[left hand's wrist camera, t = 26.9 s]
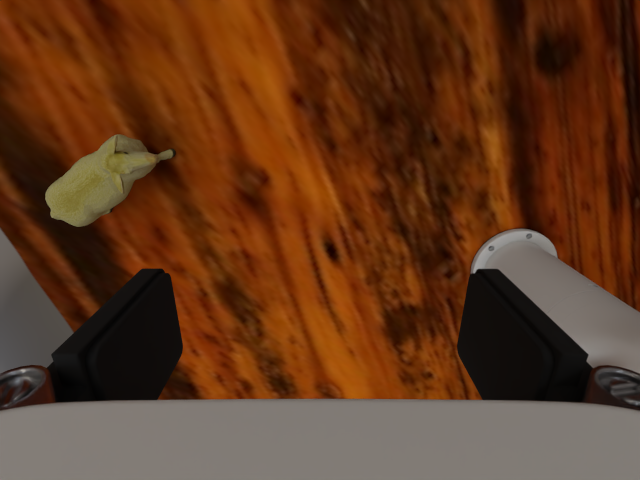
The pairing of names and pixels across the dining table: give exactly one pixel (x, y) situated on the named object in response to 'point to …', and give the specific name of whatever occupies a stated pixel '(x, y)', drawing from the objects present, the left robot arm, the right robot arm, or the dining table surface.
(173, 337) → the left robot arm
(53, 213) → the toy
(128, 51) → the dining table surface
